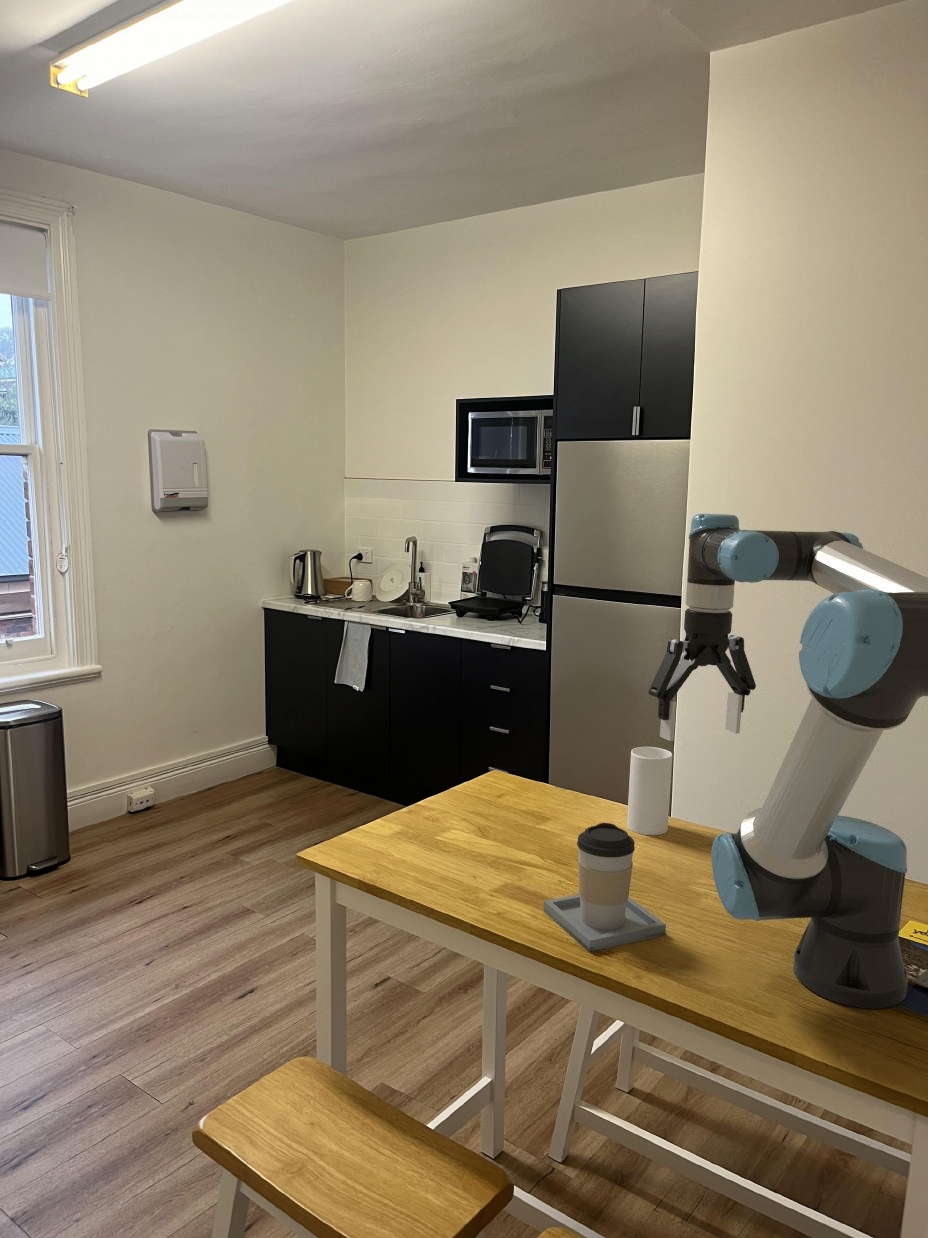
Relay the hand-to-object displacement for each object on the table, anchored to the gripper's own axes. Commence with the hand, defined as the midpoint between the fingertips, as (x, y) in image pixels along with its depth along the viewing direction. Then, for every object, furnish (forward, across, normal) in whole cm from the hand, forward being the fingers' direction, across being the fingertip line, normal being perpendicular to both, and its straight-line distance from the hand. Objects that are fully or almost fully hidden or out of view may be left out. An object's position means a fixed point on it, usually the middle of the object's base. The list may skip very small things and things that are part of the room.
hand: (700, 735), depth 152 cm
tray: (+29, +19, +2) cm, 35 cm away
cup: (+29, -12, -29) cm, 43 cm away
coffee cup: (+28, +19, +2) cm, 34 cm away
